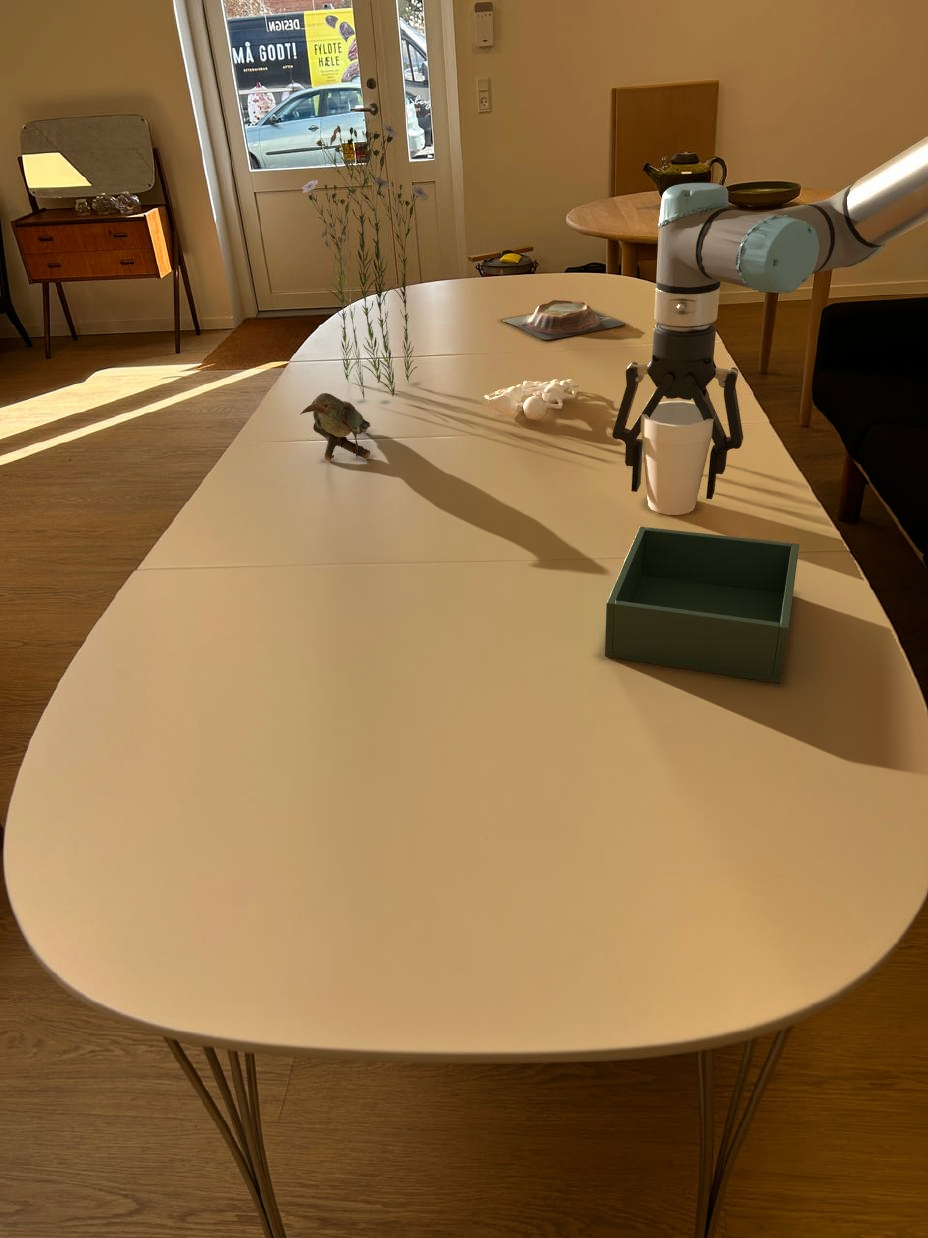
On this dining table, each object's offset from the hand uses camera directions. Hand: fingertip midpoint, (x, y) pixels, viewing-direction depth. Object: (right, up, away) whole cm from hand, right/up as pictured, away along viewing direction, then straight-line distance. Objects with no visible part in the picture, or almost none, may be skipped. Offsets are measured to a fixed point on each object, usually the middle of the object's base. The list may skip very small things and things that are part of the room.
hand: (672, 491), depth 126 cm
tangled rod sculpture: (-16, +20, +37) cm, 45 cm away
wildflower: (-44, +25, +48) cm, 70 cm away
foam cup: (0, -2, +1) cm, 2 cm away
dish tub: (-2, -18, -24) cm, 30 cm away
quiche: (-6, +48, +81) cm, 94 cm away
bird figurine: (-48, +9, +23) cm, 53 cm away
